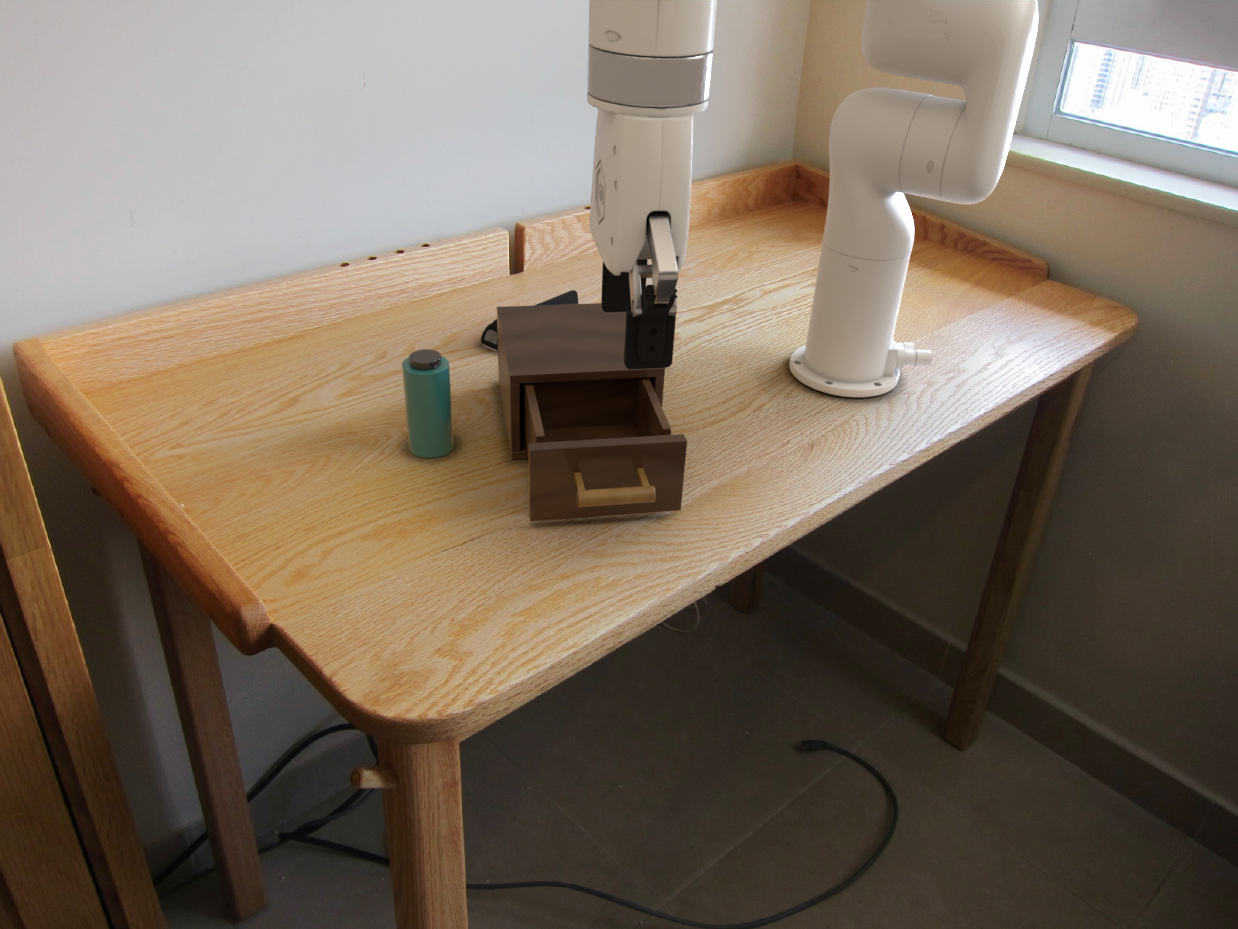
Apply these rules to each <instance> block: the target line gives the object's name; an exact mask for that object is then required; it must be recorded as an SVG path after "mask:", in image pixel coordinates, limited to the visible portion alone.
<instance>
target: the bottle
mask: <svg viewBox="0 0 1238 929" xmlns="http://www.w3.org/2000/svg"><path fill="white" fill-rule="evenodd" d="M401 371H402V372H401V374H402V386H403V394H404V395H403V396H404V408H405V417H406V430H407V440H408V450H409V451H410V453H411V454H412V455H414V456H416V457H420V458H423V459H436V458H441V457H443V456H447V455H448V454H449V453H451V452H452V451H453V449H454V448H455V440H454V423H453V422H454V421H453V405H452V386H451V374H450V372H451V371H450V361H449V359H447V358H446V357H445V356H443V355H442V354H441V353H440V352H439V351H438V350H435V349H430V348H424V349H417V350H413V351H412V352H411V353H409V355H408V357H406V358H405V359H404V360H403V361H402V363H401Z"/></svg>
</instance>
